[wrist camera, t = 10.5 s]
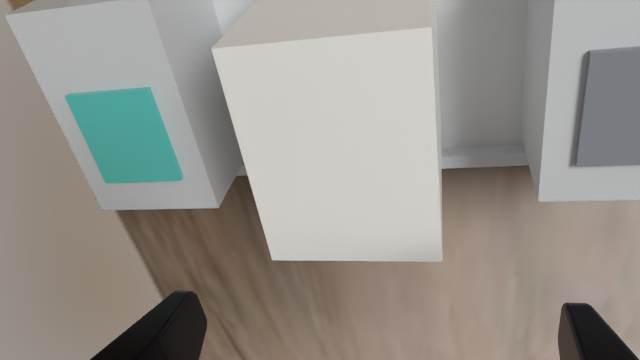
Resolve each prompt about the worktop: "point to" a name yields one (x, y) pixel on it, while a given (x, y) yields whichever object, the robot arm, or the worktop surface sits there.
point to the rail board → (466, 78)
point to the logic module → (339, 126)
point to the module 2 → (582, 99)
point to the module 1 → (136, 97)
